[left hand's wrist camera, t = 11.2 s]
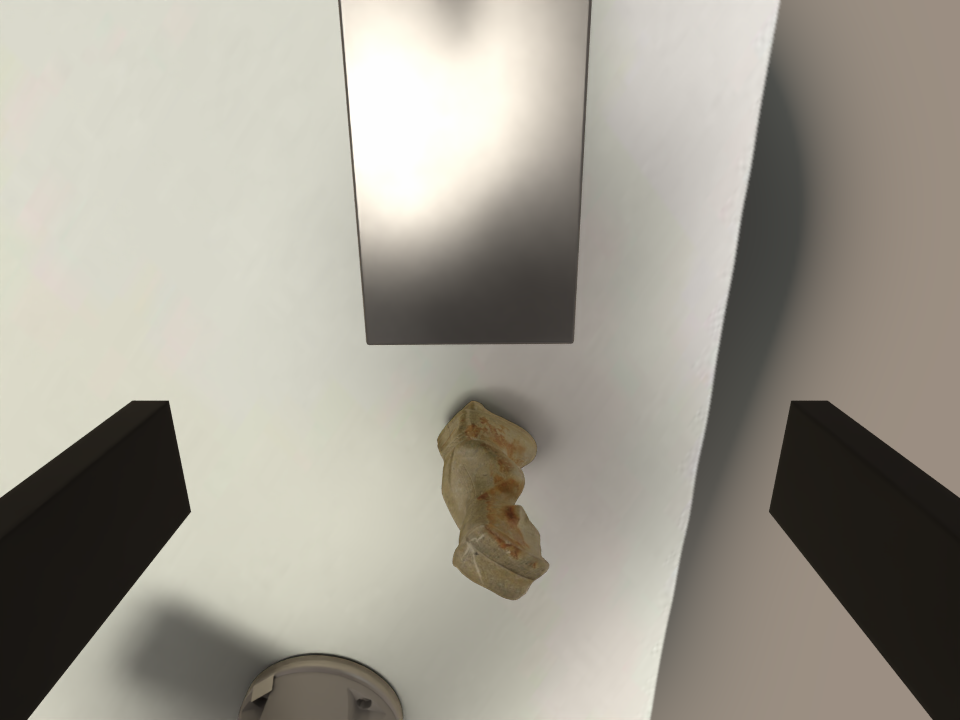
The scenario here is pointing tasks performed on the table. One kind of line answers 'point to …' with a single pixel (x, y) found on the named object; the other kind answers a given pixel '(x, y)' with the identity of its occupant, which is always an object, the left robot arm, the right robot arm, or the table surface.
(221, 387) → the table surface
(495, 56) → the box
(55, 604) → the left robot arm
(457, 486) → the sculpture
